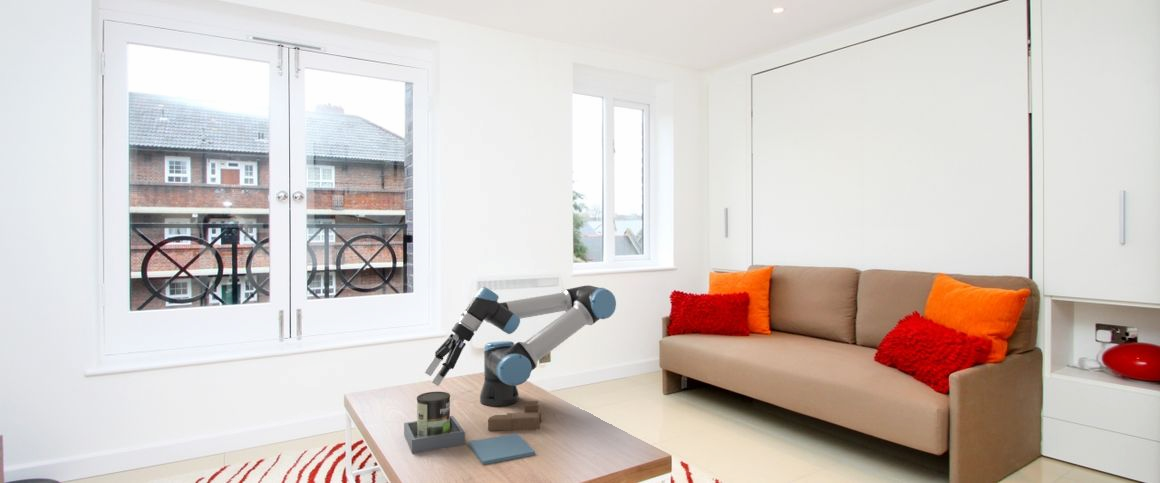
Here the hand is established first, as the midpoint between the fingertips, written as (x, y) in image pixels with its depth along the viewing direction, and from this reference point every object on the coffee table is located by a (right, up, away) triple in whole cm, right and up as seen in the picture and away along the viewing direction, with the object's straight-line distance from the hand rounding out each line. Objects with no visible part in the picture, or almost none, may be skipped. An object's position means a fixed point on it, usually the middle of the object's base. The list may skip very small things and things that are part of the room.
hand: (430, 379), depth 188 cm
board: (+28, -16, -22) cm, 39 cm away
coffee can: (+5, -16, -15) cm, 22 cm away
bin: (+5, -16, -15) cm, 22 cm away
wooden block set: (+29, -16, +2) cm, 33 cm away
